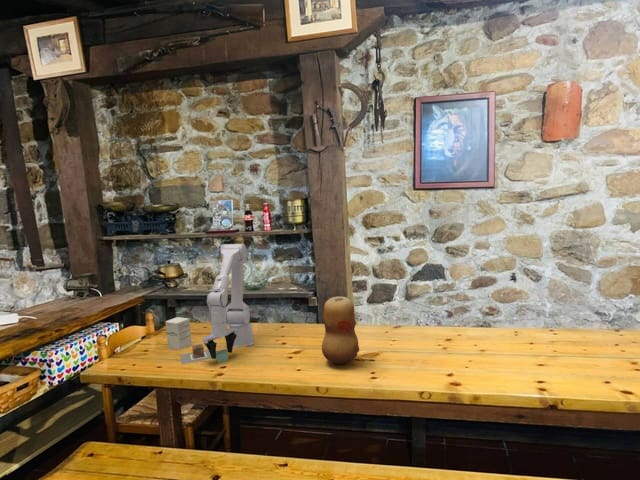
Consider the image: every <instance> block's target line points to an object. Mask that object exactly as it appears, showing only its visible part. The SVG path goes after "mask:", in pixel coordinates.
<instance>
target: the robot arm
mask: <svg viewBox="0 0 640 480" xmlns="http://www.w3.org/2000/svg"><path fill="white" fill-rule="evenodd" d="M247 251H248V249H247V247H246V245H245V243H228V244H226V243H223V244H222V245H221V246H220V252H219V253H220V258H221V259H222V260H221V266H220V271H219V274H217V275H216V276H215V280H214V282H213V286H212V289H211V291H210V292H209V293H208V294H207V295H206V296H207V297H206V304H207V306H208V311H209V312H210V320H211V331H212V332H211V333H209V334H207V336H203V337H202V342H203V343H204V345H205V347H206V348H207V350H209V352H210V355H211V358H212V360H217V359H216V351H217V344H218V343H217V342H215V341H216V340H218V339H221V338H223V337H224V339H225V343H226V344H225V345H226V350H227V352H228V353H229V354H230V353H231V354H232V353H233V349H234V348H239V347H245V346H246V347H247V346H253V345H254V336H253V335H254V334H253V326H252V323H251V322H250V318H251V313H250V307H249V305H248V304H246V303H245V302H244V300H243V299H244V295H243V294H244V264H246V263H247V260H248V259H247V258H248V256H247V255H248V252H247ZM230 274H231V279H230V277H229V275H230ZM230 282H231V288H230V289H231V290H230V291H231V292H230V294H231V296H230V298H231V300H230V302H229V303H228V295H229V292H228V291H229V290H228V289H229V285H230ZM226 305H227V306H226ZM228 327H229V328H228Z"/></svg>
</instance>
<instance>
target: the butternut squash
mask: <svg viewBox="0 0 640 480" xmlns="http://www.w3.org/2000/svg"><path fill="white" fill-rule="evenodd" d="M355 315H356V314H355V305H354V302H353V301H352V300H351V299H350V298H349V297H347V296H333V297H330V298H329V299H328V300H326V301H325V303H324V306H323V318H322V319H323V325H324V337H323V339H322V344H321V353H322V355H323V357H324V358H325V359H326V360H327V361H328V362H330V363H334V364H338V365H346V364H348V363H350V362H351V361H353V360H354V359H355V358H356V357H357V356H358V353H359V351H360V347H359V346H360V345H359V339H358V336H357V334H356V330H355V328H356V326H357V325H356V324H357V321H356V316H355Z"/></svg>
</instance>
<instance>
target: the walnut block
mask: <svg viewBox="0 0 640 480" xmlns="http://www.w3.org/2000/svg"><path fill="white" fill-rule="evenodd" d="M191 347H192V349H191V350H192V352H193V357H194V359H195V358H200V357H204V350H205V349H204V346H203V344H202V343H201V344H195V345H191Z"/></svg>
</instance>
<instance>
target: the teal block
mask: <svg viewBox="0 0 640 480" xmlns="http://www.w3.org/2000/svg"><path fill="white" fill-rule="evenodd" d="M228 353H229V352H228V351H227V348H225V349H220V350H216V359H215V360H216V361H217V363H224V362H228V361H229V354H228Z"/></svg>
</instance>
